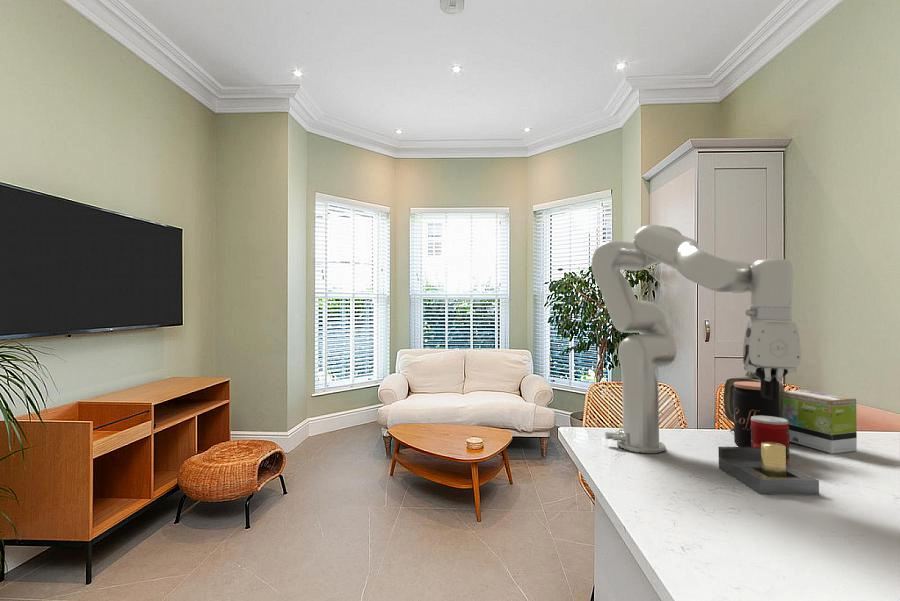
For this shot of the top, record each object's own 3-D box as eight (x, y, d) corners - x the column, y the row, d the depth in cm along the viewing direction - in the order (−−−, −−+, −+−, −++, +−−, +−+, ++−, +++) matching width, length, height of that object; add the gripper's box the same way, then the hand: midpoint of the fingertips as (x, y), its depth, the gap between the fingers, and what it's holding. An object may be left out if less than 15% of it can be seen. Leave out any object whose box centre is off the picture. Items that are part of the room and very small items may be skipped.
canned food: (795, 468, 115) (794, 422, 115) (759, 465, 116) (758, 421, 117) (780, 458, 122) (779, 416, 123) (746, 456, 124) (745, 414, 124)
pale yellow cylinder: (770, 489, 100) (769, 447, 101) (757, 482, 105) (756, 441, 105) (791, 490, 100) (790, 447, 101) (777, 482, 105) (776, 442, 105)
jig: (760, 494, 98) (759, 468, 98) (718, 469, 114) (718, 446, 114) (819, 495, 98) (818, 468, 98) (769, 469, 114) (768, 447, 114)
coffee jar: (725, 446, 134) (725, 382, 134) (749, 441, 138) (748, 380, 139) (764, 456, 124) (763, 388, 125) (788, 451, 129) (787, 385, 129)
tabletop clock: (723, 432, 149) (723, 353, 150) (740, 429, 153) (740, 352, 154) (772, 443, 136) (772, 357, 137) (789, 440, 141) (789, 356, 141)
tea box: (778, 440, 140) (777, 390, 141) (803, 437, 143) (802, 388, 144) (832, 454, 126) (831, 398, 126) (858, 451, 129) (857, 397, 129)
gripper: (746, 315, 100) (745, 401, 100) (818, 316, 100) (816, 403, 100) (726, 314, 108) (725, 394, 108) (793, 315, 107) (792, 396, 107)
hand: (769, 398), depth 104 cm, fingers closed
